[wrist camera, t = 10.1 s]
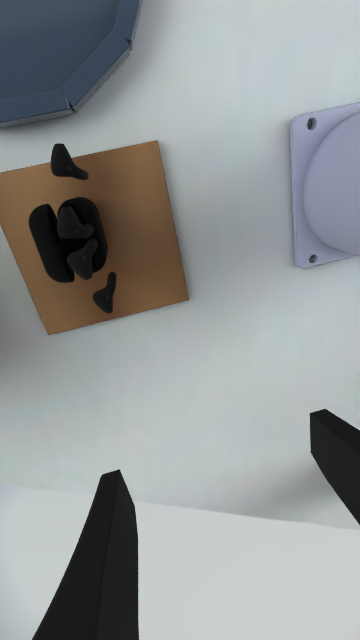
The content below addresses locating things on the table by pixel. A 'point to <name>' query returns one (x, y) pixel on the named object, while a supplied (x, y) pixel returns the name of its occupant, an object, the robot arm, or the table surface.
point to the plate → (59, 54)
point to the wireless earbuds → (72, 235)
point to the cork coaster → (119, 228)
